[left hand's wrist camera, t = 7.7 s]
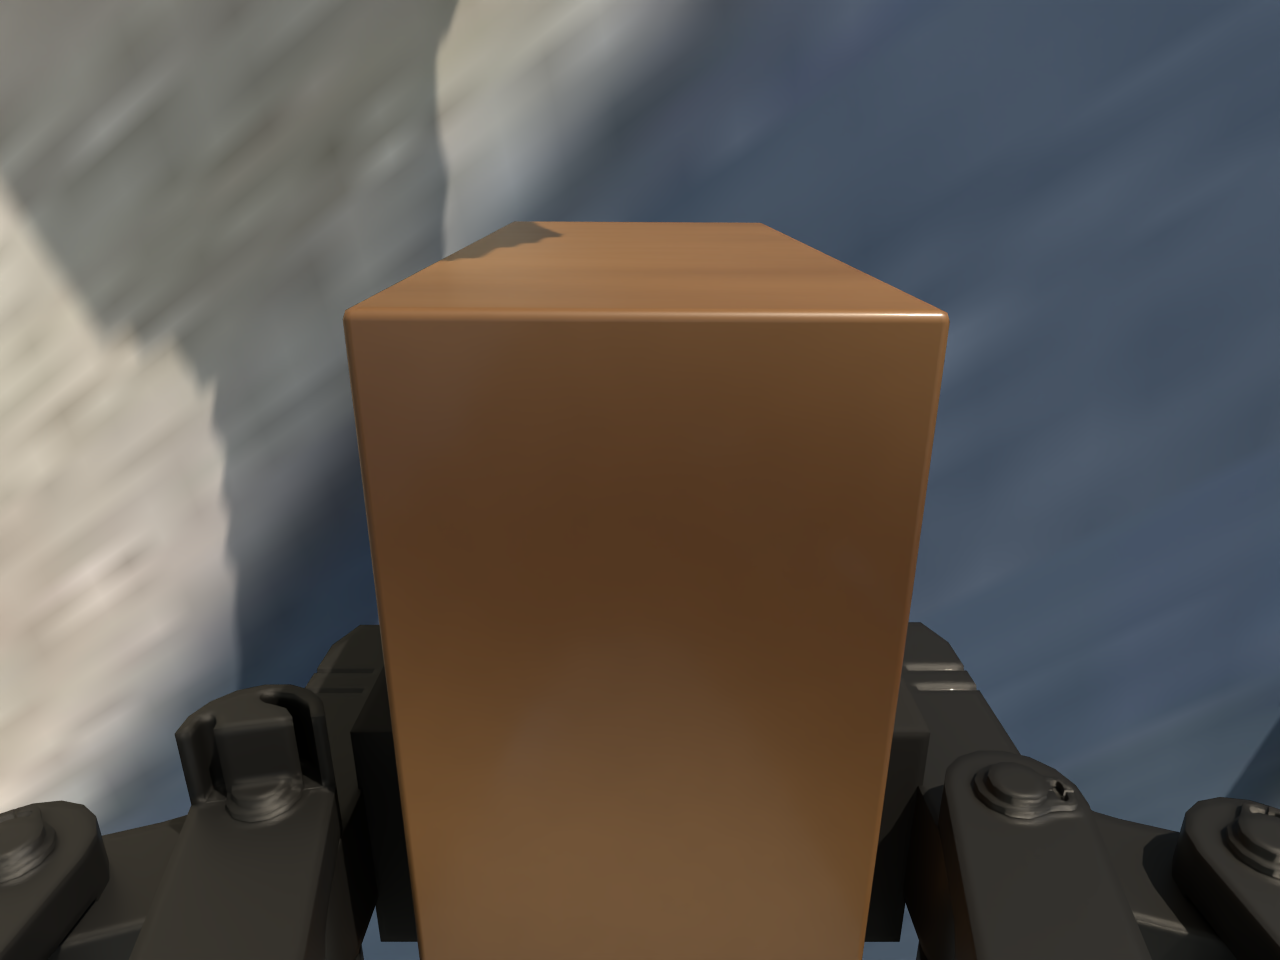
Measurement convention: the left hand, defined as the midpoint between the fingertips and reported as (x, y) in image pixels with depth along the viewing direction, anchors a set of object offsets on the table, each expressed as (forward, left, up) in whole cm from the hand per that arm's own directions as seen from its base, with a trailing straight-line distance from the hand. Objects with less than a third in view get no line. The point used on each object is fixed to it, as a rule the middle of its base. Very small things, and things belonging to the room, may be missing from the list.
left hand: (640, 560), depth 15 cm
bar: (+15, +26, -1) cm, 30 cm away
